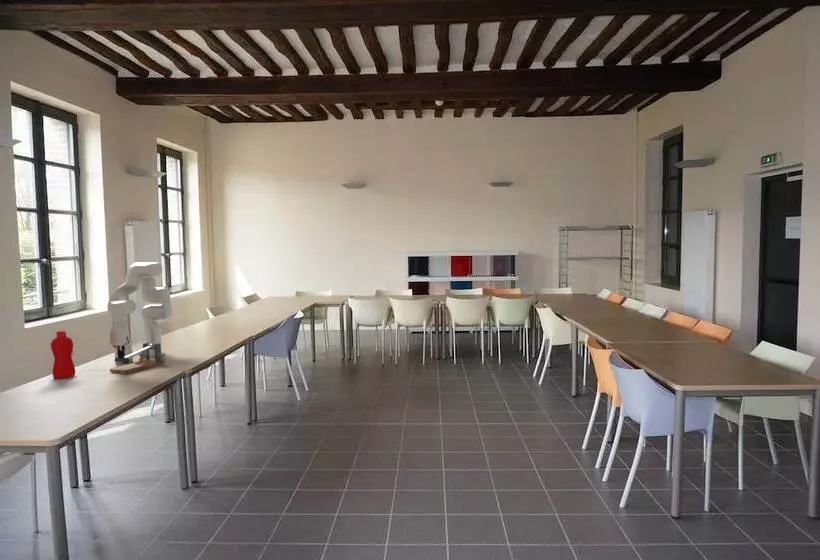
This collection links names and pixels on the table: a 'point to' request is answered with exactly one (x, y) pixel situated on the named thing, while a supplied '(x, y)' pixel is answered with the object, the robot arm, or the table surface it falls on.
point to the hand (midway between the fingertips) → (121, 357)
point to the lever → (141, 353)
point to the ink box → (127, 352)
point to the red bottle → (62, 356)
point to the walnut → (142, 359)
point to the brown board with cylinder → (141, 365)
